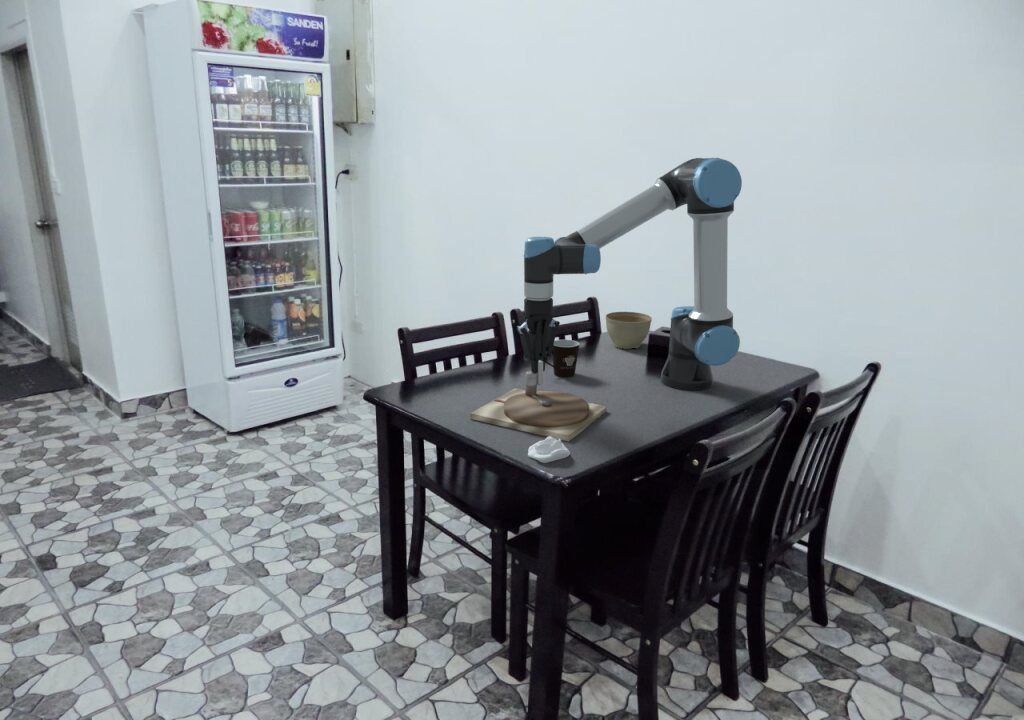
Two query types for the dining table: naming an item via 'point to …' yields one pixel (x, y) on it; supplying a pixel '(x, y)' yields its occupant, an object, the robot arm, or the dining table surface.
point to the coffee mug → (564, 358)
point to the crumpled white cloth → (548, 450)
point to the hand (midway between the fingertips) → (537, 383)
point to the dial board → (496, 416)
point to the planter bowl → (627, 328)
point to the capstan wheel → (545, 406)
